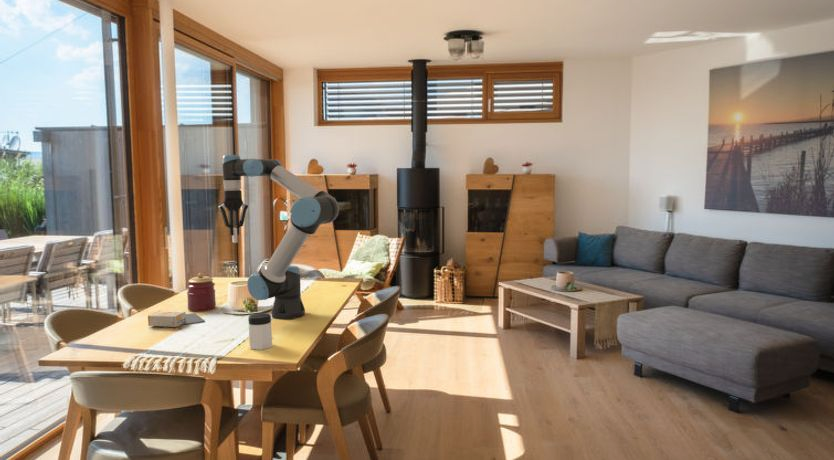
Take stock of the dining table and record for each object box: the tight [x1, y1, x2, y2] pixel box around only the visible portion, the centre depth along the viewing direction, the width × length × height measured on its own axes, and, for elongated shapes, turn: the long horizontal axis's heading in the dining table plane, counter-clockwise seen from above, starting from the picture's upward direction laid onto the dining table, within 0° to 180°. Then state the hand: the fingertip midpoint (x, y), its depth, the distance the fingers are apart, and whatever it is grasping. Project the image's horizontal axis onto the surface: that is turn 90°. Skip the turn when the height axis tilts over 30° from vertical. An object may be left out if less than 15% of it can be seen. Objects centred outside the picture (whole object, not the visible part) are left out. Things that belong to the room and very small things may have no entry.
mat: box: [161, 312, 206, 329], centre depth 261 cm, size 18×17×1 cm
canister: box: [186, 272, 217, 312], centre depth 283 cm, size 13×13×18 cm
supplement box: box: [147, 310, 187, 328], centre depth 253 cm, size 8×5×13 cm
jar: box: [248, 312, 273, 351], centre depth 220 cm, size 9×8×12 cm
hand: (235, 242), depth 262 cm, fingers closed
